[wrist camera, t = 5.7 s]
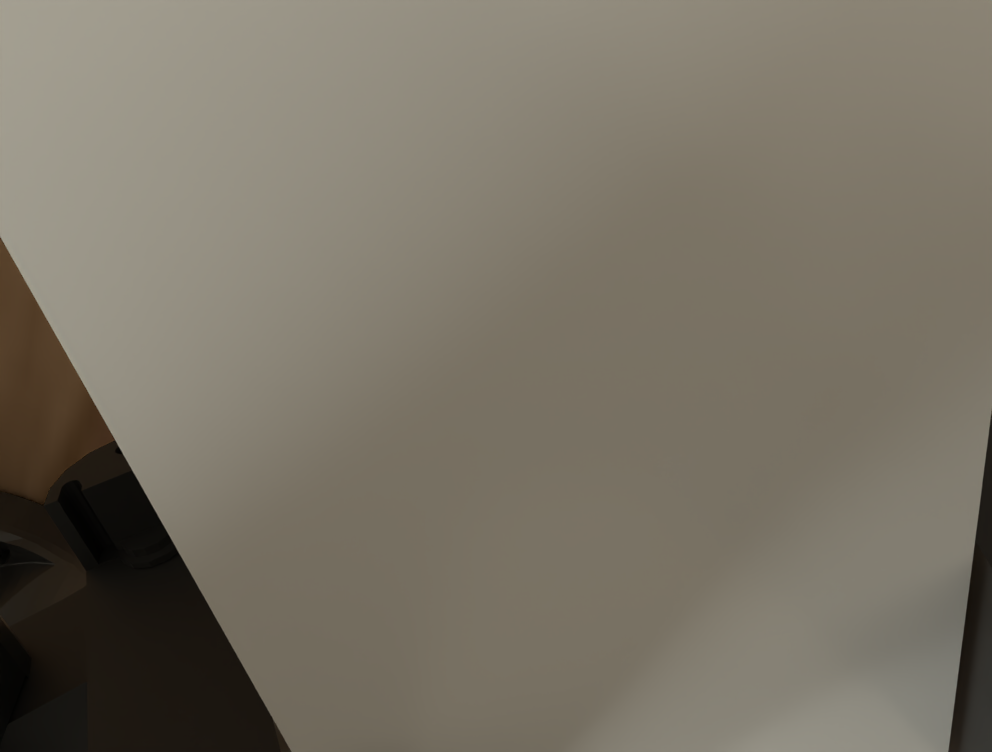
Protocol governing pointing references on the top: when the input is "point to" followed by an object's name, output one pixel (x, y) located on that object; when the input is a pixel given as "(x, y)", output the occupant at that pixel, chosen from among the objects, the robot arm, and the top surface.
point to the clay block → (535, 349)
